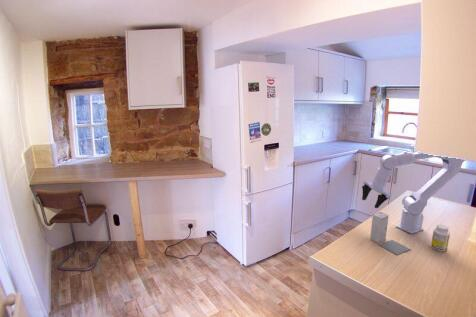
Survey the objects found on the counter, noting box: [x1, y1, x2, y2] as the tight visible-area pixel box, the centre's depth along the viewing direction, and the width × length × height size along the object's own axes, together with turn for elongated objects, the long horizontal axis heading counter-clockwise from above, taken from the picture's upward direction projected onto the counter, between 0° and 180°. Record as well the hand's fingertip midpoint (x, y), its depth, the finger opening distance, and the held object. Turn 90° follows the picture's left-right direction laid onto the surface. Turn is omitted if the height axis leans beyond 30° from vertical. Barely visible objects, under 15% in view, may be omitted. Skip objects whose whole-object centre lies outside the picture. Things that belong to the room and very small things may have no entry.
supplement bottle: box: [430, 224, 451, 252], centre depth 113 cm, size 6×6×10 cm
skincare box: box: [369, 211, 389, 244], centre depth 120 cm, size 6×4×12 cm
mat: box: [377, 239, 412, 256], centre depth 115 cm, size 9×8×1 cm
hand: (369, 203), depth 132 cm, fingers open, 7 cm apart
